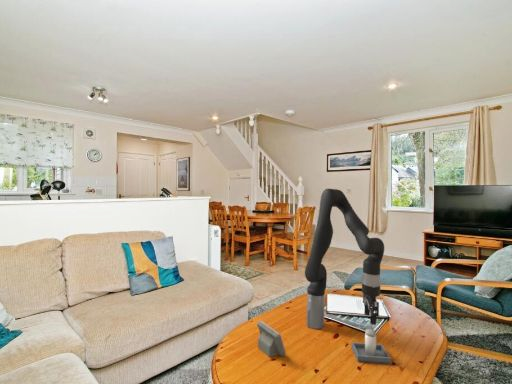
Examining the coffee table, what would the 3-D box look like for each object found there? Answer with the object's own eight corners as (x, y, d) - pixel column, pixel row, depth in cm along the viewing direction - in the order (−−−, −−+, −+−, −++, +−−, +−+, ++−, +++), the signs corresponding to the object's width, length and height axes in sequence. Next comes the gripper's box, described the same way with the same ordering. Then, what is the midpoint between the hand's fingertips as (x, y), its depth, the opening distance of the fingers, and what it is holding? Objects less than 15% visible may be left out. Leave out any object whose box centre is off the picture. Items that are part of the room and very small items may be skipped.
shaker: (366, 356, 116) (366, 333, 116) (363, 350, 120) (363, 328, 120) (377, 357, 115) (377, 334, 115) (374, 351, 120) (374, 329, 120)
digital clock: (287, 357, 115) (287, 332, 116) (268, 362, 112) (269, 336, 112) (271, 338, 130) (271, 317, 131) (254, 342, 127) (254, 320, 127)
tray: (357, 361, 113) (357, 356, 113) (351, 347, 124) (351, 342, 124) (391, 364, 112) (391, 358, 112) (381, 349, 122) (381, 344, 122)
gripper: (357, 277, 125) (357, 311, 125) (367, 288, 111) (366, 326, 111) (374, 278, 124) (373, 312, 124) (385, 289, 110) (384, 328, 110)
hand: (370, 319), depth 118 cm, fingers open, 8 cm apart
